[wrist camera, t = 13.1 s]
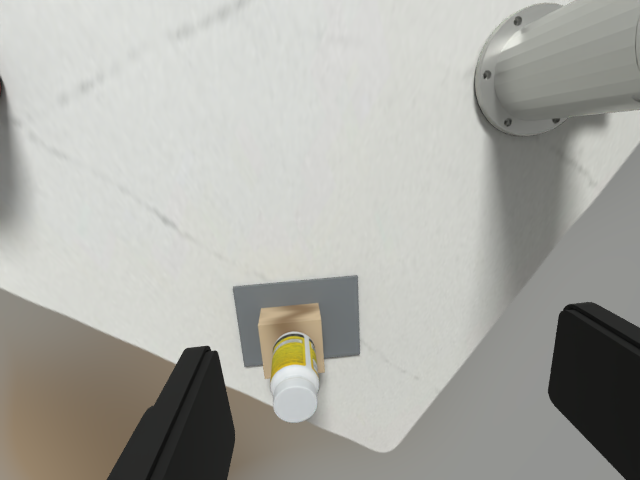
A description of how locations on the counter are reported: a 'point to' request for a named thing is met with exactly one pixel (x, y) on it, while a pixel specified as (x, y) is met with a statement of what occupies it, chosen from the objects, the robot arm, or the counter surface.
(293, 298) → the mat
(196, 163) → the counter surface
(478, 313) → the counter surface
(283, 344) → the supplement bottle
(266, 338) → the oak block
